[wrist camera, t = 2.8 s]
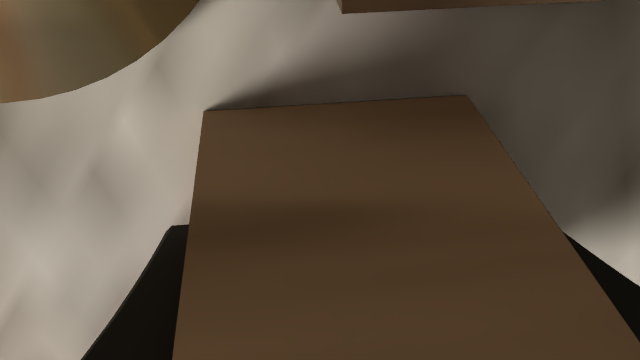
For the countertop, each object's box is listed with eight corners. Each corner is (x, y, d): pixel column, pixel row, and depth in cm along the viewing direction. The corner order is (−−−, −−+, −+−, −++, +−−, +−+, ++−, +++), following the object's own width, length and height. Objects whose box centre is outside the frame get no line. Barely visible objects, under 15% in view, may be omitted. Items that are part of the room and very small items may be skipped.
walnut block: (443, 288, 13) (565, 603, 8) (230, 306, 13) (220, 646, 8) (466, 95, 11) (664, 376, 6) (203, 111, 10) (163, 427, 5)
